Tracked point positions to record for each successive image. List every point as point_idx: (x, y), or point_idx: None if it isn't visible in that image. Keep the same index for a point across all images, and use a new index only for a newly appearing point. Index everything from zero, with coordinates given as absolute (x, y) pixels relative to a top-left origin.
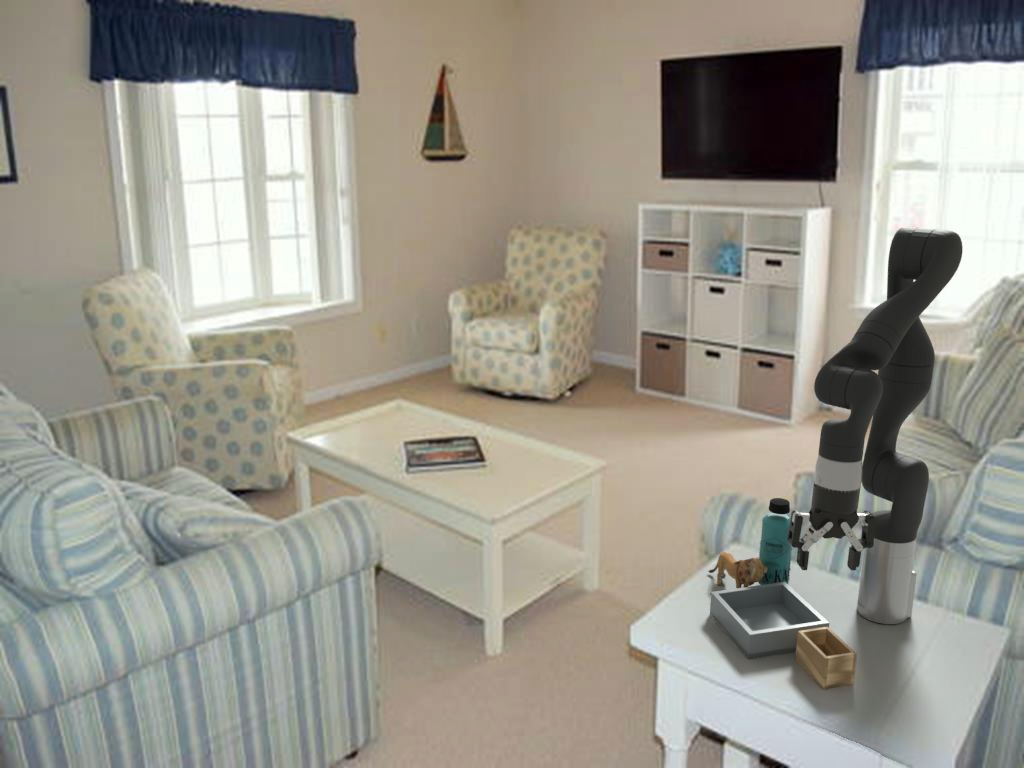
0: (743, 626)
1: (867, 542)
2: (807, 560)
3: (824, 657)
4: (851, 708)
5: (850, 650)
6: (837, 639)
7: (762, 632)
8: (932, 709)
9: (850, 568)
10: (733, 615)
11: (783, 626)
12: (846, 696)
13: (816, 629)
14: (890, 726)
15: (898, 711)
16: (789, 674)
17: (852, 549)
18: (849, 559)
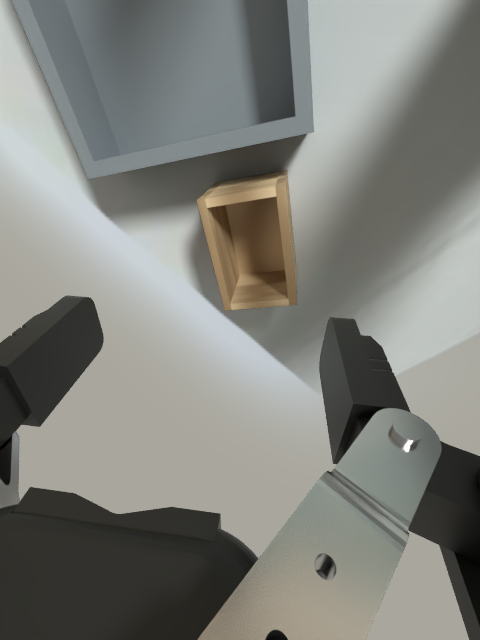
0: (71, 133)
1: (451, 563)
2: (70, 383)
3: (224, 306)
4: (261, 324)
5: (288, 293)
6: (282, 245)
7: (118, 170)
8: (384, 343)
9: (322, 353)
10: (38, 57)
11: (175, 143)
12: None
13: (247, 197)
14: (297, 361)
15: None
16: (191, 230)
17: (340, 442)
18: (332, 358)
